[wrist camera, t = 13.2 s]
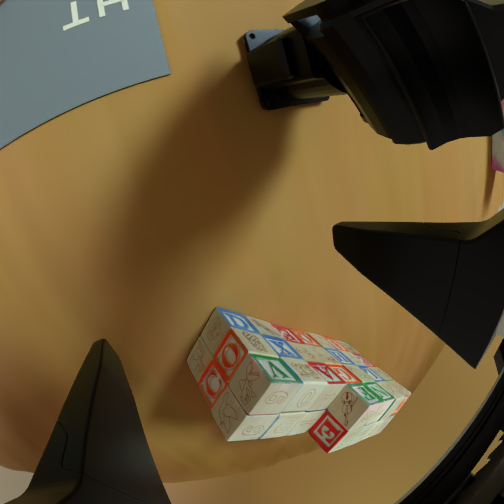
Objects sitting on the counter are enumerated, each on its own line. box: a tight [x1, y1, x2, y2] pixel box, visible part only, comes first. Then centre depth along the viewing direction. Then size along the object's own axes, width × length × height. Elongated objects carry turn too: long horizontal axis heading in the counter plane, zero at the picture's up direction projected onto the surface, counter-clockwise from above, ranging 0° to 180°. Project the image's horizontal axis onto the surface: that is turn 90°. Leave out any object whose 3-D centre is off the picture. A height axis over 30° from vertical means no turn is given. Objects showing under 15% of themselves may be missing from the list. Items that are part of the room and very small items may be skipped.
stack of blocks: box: [187, 307, 411, 453], centre depth 24 cm, size 21×6×12 cm, turn 56°
